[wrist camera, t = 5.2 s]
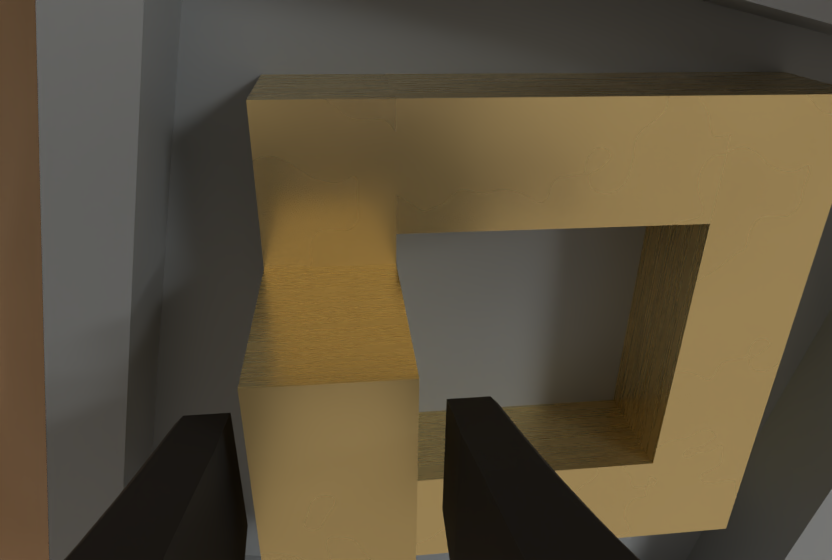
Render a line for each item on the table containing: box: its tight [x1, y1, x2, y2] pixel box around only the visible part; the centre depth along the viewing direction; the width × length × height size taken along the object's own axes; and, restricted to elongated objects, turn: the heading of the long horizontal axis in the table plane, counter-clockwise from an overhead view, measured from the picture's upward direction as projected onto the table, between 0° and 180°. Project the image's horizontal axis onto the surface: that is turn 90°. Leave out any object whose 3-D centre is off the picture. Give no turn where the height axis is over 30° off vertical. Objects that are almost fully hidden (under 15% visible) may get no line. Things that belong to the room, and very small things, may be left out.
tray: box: [36, 0, 832, 560], centre depth 13 cm, size 16×16×3 cm
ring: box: [238, 72, 832, 560], centre depth 11 cm, size 9×9×5 cm
